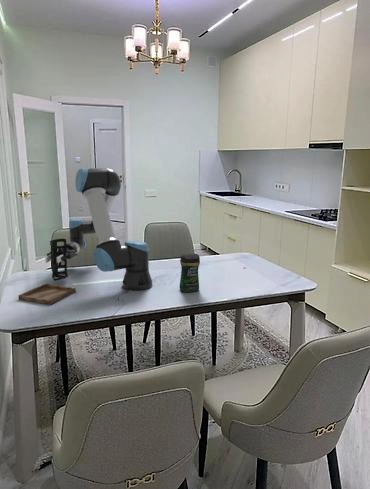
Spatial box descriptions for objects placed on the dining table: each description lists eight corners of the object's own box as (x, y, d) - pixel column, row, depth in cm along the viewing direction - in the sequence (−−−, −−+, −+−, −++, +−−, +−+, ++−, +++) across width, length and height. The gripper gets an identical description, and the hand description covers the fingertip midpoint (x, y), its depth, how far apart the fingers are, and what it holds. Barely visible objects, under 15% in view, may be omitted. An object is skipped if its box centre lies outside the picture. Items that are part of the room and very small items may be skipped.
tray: (75, 292, 180) (75, 288, 180) (50, 305, 164) (50, 301, 163) (46, 287, 186) (45, 283, 186) (18, 299, 170) (18, 295, 170)
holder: (60, 281, 187) (58, 242, 182) (46, 280, 188) (44, 241, 184) (71, 275, 197) (69, 238, 193) (58, 274, 199) (56, 237, 194)
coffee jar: (182, 293, 180) (182, 256, 176) (177, 288, 187) (178, 252, 183) (201, 291, 183) (202, 255, 179) (196, 286, 190) (196, 251, 186)
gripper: (86, 256, 208) (69, 268, 185) (55, 255, 210) (35, 266, 187) (85, 243, 206) (68, 253, 184) (54, 242, 208) (33, 252, 185)
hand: (51, 260), depth 185 cm, fingers closed on holder, 5 cm apart
